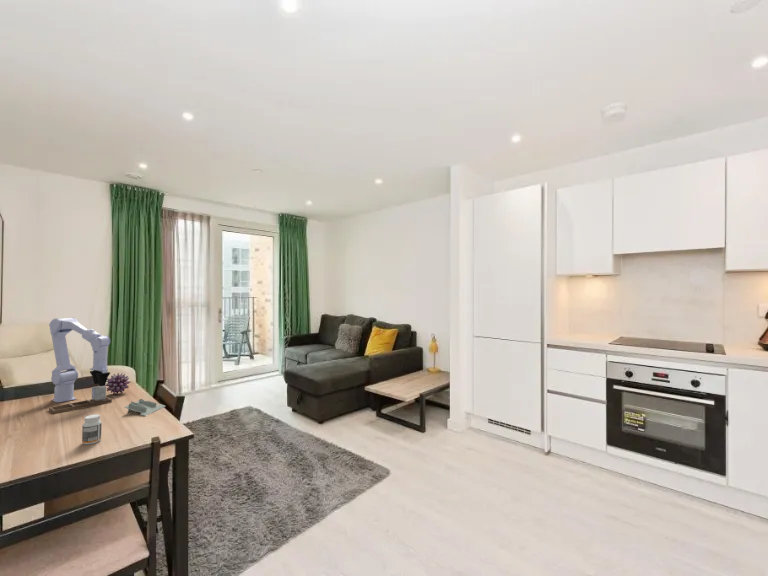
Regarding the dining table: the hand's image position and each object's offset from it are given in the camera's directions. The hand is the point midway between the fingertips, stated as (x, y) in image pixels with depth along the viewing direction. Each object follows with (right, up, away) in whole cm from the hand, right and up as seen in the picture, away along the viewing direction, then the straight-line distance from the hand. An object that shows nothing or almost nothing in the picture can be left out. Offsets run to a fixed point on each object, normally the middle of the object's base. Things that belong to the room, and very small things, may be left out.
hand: (99, 384), depth 186 cm
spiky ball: (-2, -10, +16) cm, 19 cm away
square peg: (0, -9, 0) cm, 9 cm away
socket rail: (-4, -9, -6) cm, 12 cm away
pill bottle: (+37, -9, -49) cm, 62 cm away
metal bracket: (+32, -10, -13) cm, 36 cm away
